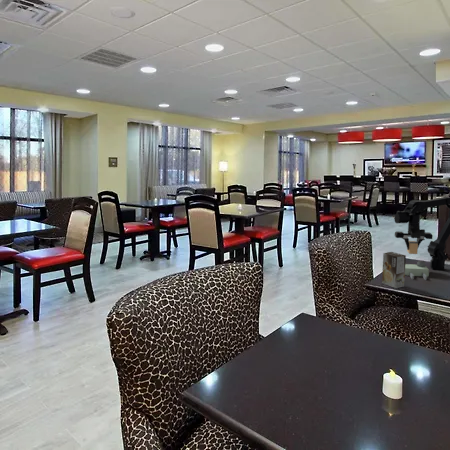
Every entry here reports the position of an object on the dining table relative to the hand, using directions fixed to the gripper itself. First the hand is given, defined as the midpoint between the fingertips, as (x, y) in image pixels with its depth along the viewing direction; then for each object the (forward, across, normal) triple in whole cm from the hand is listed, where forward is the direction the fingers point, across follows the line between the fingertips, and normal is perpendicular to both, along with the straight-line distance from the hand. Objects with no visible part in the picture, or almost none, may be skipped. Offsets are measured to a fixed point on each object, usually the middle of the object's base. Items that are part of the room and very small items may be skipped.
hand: (412, 250), depth 221 cm
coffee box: (+12, -14, -32) cm, 37 cm away
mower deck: (+11, 0, -12) cm, 17 cm away
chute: (+1, 0, 0) cm, 1 cm away
